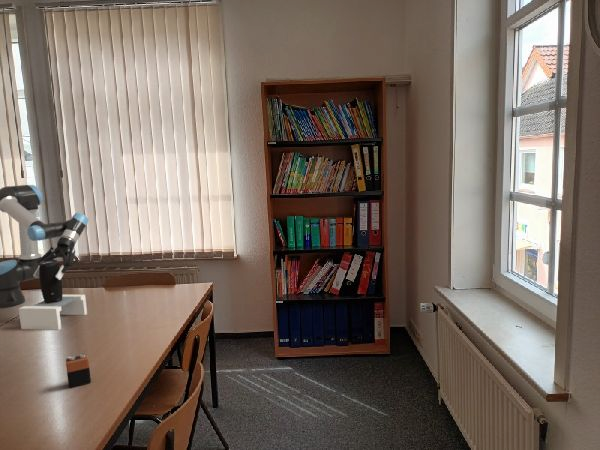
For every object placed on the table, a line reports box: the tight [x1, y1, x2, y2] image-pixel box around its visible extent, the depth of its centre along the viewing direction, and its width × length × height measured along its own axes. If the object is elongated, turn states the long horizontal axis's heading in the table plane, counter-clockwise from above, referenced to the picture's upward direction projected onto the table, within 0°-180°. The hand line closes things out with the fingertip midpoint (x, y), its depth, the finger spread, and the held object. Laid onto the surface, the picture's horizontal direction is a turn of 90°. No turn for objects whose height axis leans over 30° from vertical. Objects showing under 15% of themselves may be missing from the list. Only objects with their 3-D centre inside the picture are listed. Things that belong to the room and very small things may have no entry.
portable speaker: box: [39, 259, 64, 303], centre depth 222 cm, size 9×9×20 cm
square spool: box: [18, 293, 88, 331], centre depth 224 cm, size 22×19×10 cm
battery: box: [65, 353, 92, 389], centre depth 159 cm, size 4×7×10 cm, turn 120°
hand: (46, 277), depth 220 cm, fingers open, 13 cm apart
